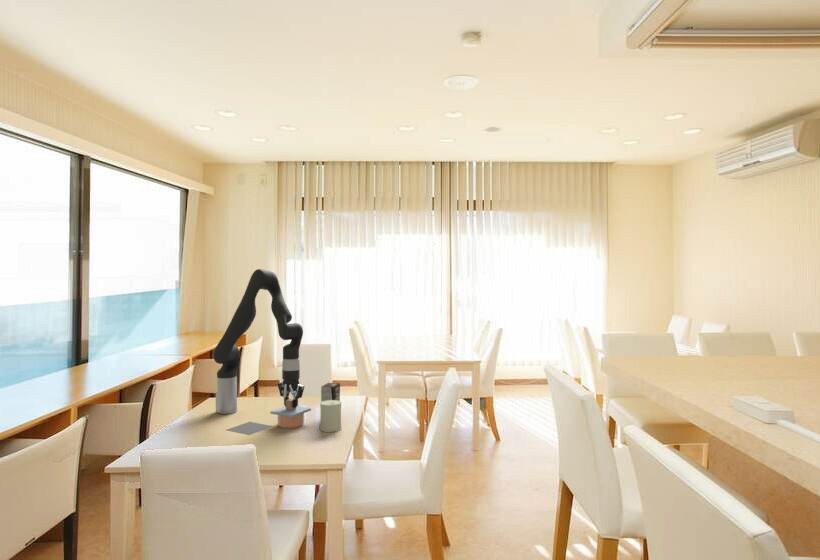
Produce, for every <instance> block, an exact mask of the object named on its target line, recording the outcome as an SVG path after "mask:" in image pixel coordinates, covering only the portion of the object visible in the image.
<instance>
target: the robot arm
mask: <svg viewBox="0 0 820 560" xmlns="http://www.w3.org/2000/svg"><path fill="white" fill-rule="evenodd" d="M260 290H262V291H263V290H265V291H268V293H269V295H270V296H271V305H270V306H271V307H270V309H271V312H272V315H273V317H274V318H275V320H276V325H277V331H278V336H279V337H280V339H282V340H283V341H290V343H288V344H285V345H284V346H283V347H282V364H281V365H282V366H281V367H282V372H281V373H282V374H281V378H282V382H278V383H277V387H278V390H279V391H278V392H279V396H280V397H282V398H283V405H284V407H285V406H286V400H288V399H290V394H291V396H292V399H293V408H296V407H297V406H299V399H300V398H303V395H304V391H305V387H306V386H305V385H304V384H300V380H299V379H300V377H301V376H300V375H301V373H300V372H301V371H300V370H301V369H300V347H301V342H302V339H303V335H304V330H303V327H302V325H301V324H300V323H297V322H296V323H290V322H291V321H292V319H293V315H292V313H291V311H290V309H289V308H288V306H287V304H286V301H285V299H284V295H283V292H282V289H281V285H280V281H279V279H278V276H277V274H276V273H275V272H273V271H271V270H267V269H261V268H258V269H255V270H254V271H253V273H252V274H251V276H250V278H249V281H248V283H247V286H246V288H245V291H244V294H243V295H242V298H241V300H240V302H239V304H238V306H237V308H236V310H235V312H234V313H233V316H232V318H231V321H230V322H229V324H228V325H227V328H226V330H225V332H224V333H223V335H222V337H221V339H220V340H219V342H218V343H217V345H216V346H215V348H214V350H213V354H212V355H213V360H214V361H215V363H217V364H219V365H221V367H220V368H219V369H218V370H217V373H216V392H215V412H216V413H217V414H221V415H229V414H234V413H236V412H237V411H238V372H239V369H240V368H239V367H240V365H239V364H240V350H239V347H238V345H237V344H236V343H237V342H238V340H239V339H240V338H241V337H242V336H244V334H245V333H246V332H247V331H248V330H249V329H250V327H251V326H252V323H253V322H254V320H255V318H256V315H257V308H256V307H257V306H256V298H257V295H258V293H259V292H260Z"/></svg>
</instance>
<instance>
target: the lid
mask: <svg viewBox="0 0 820 560" xmlns="http://www.w3.org/2000/svg"><path fill="white" fill-rule="evenodd" d="M311 411H312V408H311V407H304V406H299V405H298V406H297V407H296V408H293V398H289V399H288V400H286V406H285V405H284V406H282V407H279V408H277V409H276V408H275V409H274V410H271V411H270V412H269V413H270V415H271V414H272V415H277V416H278V415H281V416H287V417H295V416H298V415H300V414H303V413H304V414H305V413H309V412H311Z"/></svg>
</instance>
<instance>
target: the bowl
mask: <svg viewBox="0 0 820 560" xmlns="http://www.w3.org/2000/svg"><path fill="white" fill-rule="evenodd" d="M304 423H305V413H303V414H300V415H298V416H295V417H287V416H281V415H277V425H278V427H280V428H283V429H297V428H299V427H302V426H303V425H304Z"/></svg>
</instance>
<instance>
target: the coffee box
mask: <svg viewBox="0 0 820 560" xmlns="http://www.w3.org/2000/svg"><path fill="white" fill-rule="evenodd" d="M320 389H321V390H320V395H321V396H320V403H321V402H322V401H326V400H338V401H341V383H340V382H327V383H325V384H323V385H322V386H321V388H320Z"/></svg>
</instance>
